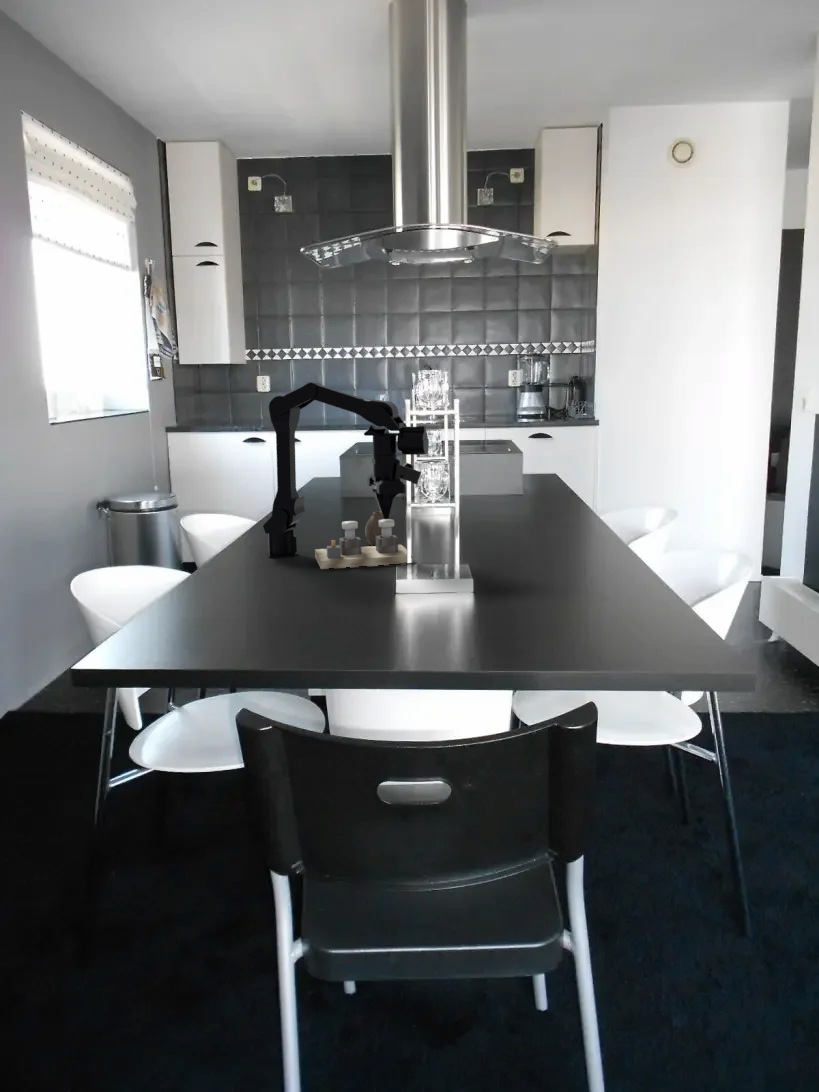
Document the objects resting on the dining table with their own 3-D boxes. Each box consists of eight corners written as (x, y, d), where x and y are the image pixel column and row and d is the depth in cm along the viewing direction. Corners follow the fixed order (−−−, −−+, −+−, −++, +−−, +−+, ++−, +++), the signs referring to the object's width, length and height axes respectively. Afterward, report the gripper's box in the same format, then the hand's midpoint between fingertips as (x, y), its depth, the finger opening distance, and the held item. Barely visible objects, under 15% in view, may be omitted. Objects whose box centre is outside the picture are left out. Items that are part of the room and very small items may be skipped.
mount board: (320, 569, 193) (320, 546, 192) (315, 557, 207) (314, 535, 206) (413, 563, 197) (412, 541, 196) (401, 552, 211) (401, 531, 210)
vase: (380, 548, 217) (379, 515, 215) (360, 545, 221) (359, 512, 219) (396, 543, 222) (395, 511, 221) (376, 541, 226) (375, 509, 225)
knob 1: (343, 544, 198) (342, 523, 197) (341, 541, 202) (340, 521, 201) (359, 543, 199) (358, 523, 198) (356, 540, 203) (356, 520, 202)
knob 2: (380, 542, 200) (380, 522, 199) (377, 539, 204) (377, 519, 203) (395, 541, 201) (395, 521, 200) (393, 538, 204) (392, 518, 204)
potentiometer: (328, 558, 195) (327, 542, 194) (326, 556, 198) (326, 539, 197) (340, 557, 196) (340, 541, 195) (339, 555, 199) (338, 539, 198)
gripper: (426, 456, 191) (427, 523, 194) (409, 450, 209) (410, 511, 212) (378, 458, 189) (380, 525, 192) (366, 451, 207) (367, 513, 210)
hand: (386, 518), depth 201 cm, fingers closed
